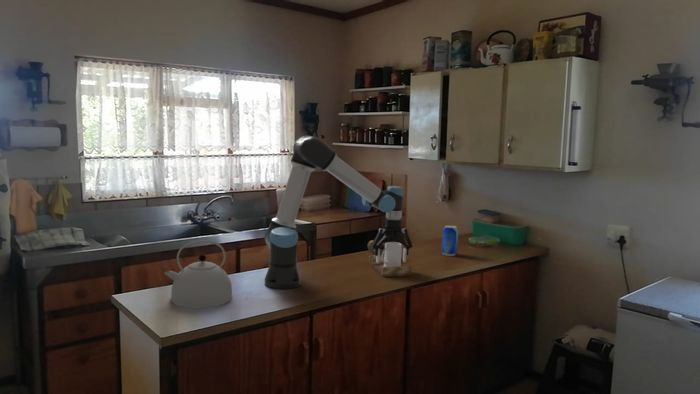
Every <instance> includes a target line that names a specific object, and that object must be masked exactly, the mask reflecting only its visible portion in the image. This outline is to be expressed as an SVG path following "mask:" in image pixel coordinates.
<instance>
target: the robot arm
mask: <svg viewBox="0 0 700 394" xmlns="http://www.w3.org/2000/svg"><path fill="white" fill-rule="evenodd" d="M292 149H293V153H292V155H291V160H290V163H291V165H292V168H291V170H290V173H289V175H288V179H287V181H286V185H285V188H284V192H283V195H282V198H281V201H280V204H279V207H278V209H277V213H276V216H275V217H273V218H271V219H270V220H271V221H270V222H269V223H270V224H269V227H268V228H267V229H266V230H265V232H264V243H265V245H266V247H267V248H268V249H269V264H268V269H267V271H266V274H265V277H264V285H265V286H266V287H268V288H271V289H276V290H277V289H278V290H289V289H294V288H297V287H299V286H300V285H301V276H300V273H299V270H298V267H297V266H298V244H299V243H298V242H299V235H298V232H297V230H296V229H297V225H296V223H295V222H296V219H297V216H298V213H299V210H300V206H301V203H302V201H303V198H304V194H305V192H306V188H307V185H308V183H309V180H310V176H311V174H312V172H314V171H315V170H316V168H318V169H320V170H321V171H323V172H325V171H326V172H328V173H329V174H331V175H332V176H334V178H336V179H337V180H339V181H340V182H341V183H343V184H344V185H345V186H346V187H348V188H349V189H351V190H352V191H353V192H355V194H358V195H359V196H361V202H362V205H363V206H364V207H373V208H376V209H378V210H379V211H380V212H383V213H385V224H384V225H385V226H384V228H381V227H380V228H378V230H377V231H378V232H377V234H376V236H375V238H374V239H373V243H372V245H371V247H372V248H375V255H374V256H376V262H377V263H379V259H380V249H379V248H380V246H381V245H382V244H385V243H386V241H387V240H388V239H393V238H394V239H398V240H399V241H400V242H401V244H402V246H404V247H403V248H402V249H403V250H402V262H403V263H407V256H409V250H410V249H411V248H413V243H412V242H411V239H410V236H409V234H408V229H407V228H406V227H404V228H402V217H403V203H404V200H403V199H404V189H403V187H402V186H398V185H389V186H387V190H382V189H381V188H379V187H378V186H377V185H376V184H375V183H373V182H372V181H370V180H369V179H368V178H367V177H365V176H363V174H361V173H360V172H358V171H357V170H355V168H353V167H352V166H351V165H349V164H348V163H347V162H345V161H343V159H341V158H340V157H339V156H338V155H337V154H338V153H337V152H336V151H335V150H333V148H331V147H330V146H329V145H327V144H326V143H325V142H324V141H323V140H322V139H320V137H317V136H312V135H303V136H300V137H299V138H298V139H296V141H295V142H294V144H293V148H292ZM401 233H403V235H404V238H405V240H404V238H403V237H402V236H401V235H400V234H401ZM383 234H384V235H383ZM382 235H383V236H382Z"/></svg>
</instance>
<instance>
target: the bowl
mask: <svg viewBox="0 0 700 394" xmlns="http://www.w3.org/2000/svg"><path fill="white" fill-rule="evenodd" d="M373 241H374V239H373V240H372V239H371V240H370V241H368V242H367V250H368V251H369V253H371V254H372V256H375V248H372V247H371V245H372V243H373ZM379 249H380V255H382V252H383V250H384V249H385V243H383V244H382V245H381V246H380V248H379ZM383 255H385V252H384V254H383Z"/></svg>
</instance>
